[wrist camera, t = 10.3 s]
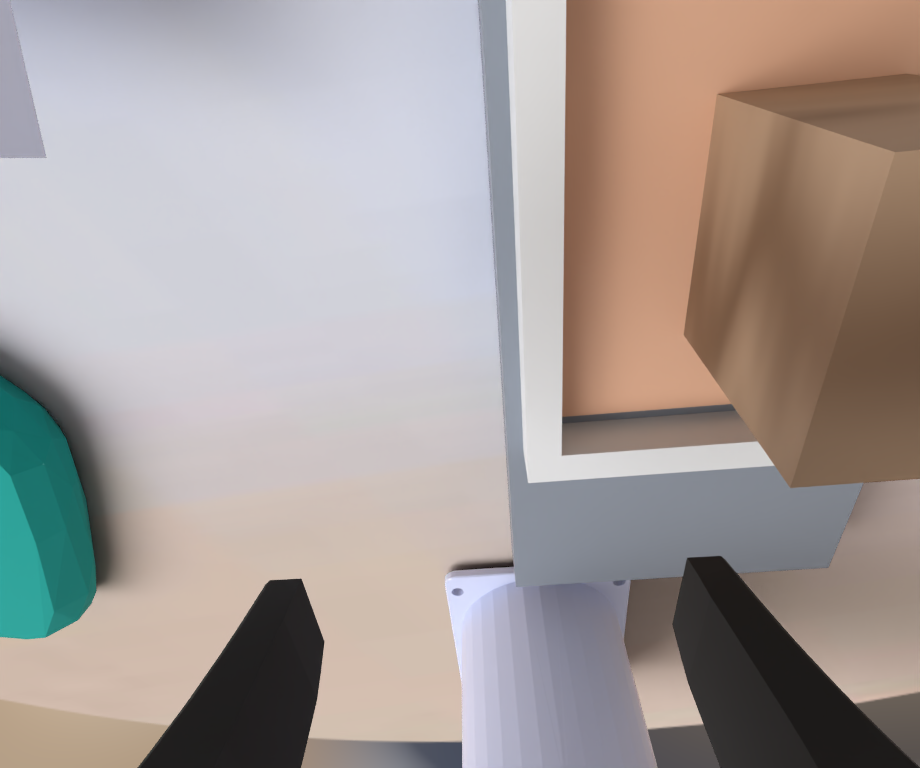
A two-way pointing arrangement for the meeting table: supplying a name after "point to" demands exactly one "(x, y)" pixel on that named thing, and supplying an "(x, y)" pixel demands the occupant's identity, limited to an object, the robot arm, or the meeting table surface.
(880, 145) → the brown rectangular block
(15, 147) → the wedge on round base
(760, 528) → the frame
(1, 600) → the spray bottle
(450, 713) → the meeting table surface
